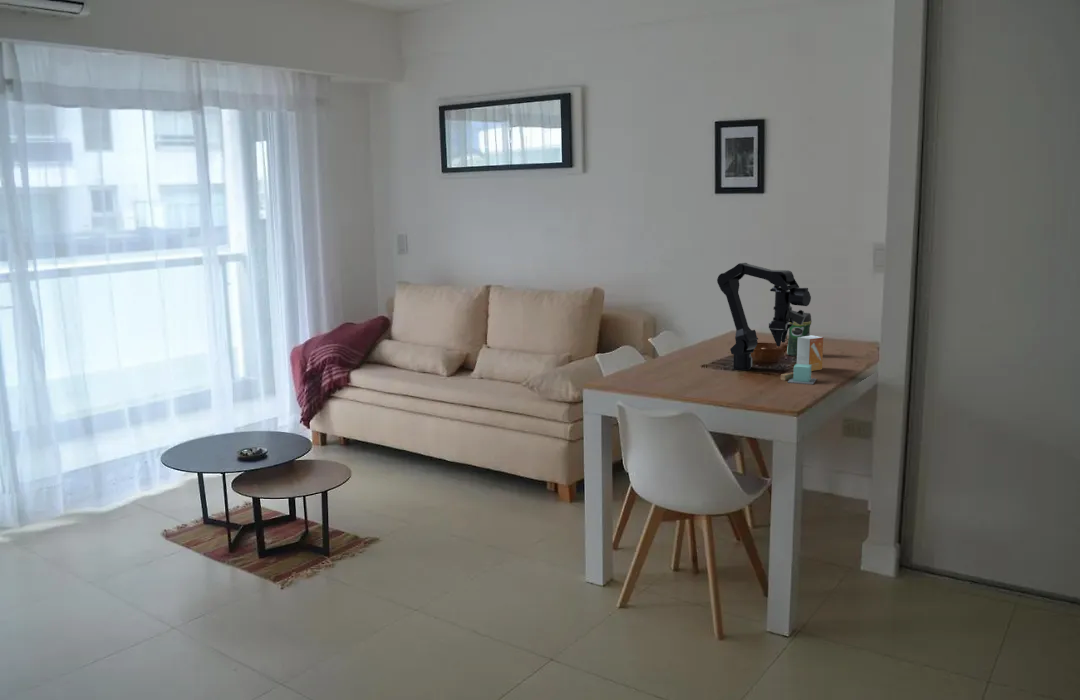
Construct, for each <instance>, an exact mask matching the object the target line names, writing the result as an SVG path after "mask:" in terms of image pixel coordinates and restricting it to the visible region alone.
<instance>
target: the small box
mask: <svg viewBox="0 0 1080 700" xmlns="http://www.w3.org/2000/svg"><path fill="white" fill-rule="evenodd" d="M823 353H824V336H817V335H811V334H810V336H803V337H798V341H797V356H796V364H808V365H811V372H813V371H819V370H820V371H821V370H822V369H823V357H824V356H823Z"/></svg>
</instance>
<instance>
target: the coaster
mask: <svg viewBox="0 0 1080 700" xmlns="http://www.w3.org/2000/svg"><path fill="white" fill-rule="evenodd" d="M815 382H817V378H815V377H814V378H812V377H811V380H810V381H809V382H799V381H793V378H791V379H790V380H787V383H788V384H799V385H801V384H802V385H814V384H815Z"/></svg>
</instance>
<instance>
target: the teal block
mask: <svg viewBox="0 0 1080 700" xmlns="http://www.w3.org/2000/svg"><path fill="white" fill-rule="evenodd" d="M811 378H812V371H811V365H808V364H797V363H795V364H794V366H793V381H799V382H809V381H810V380H811Z"/></svg>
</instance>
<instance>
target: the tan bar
mask: <svg viewBox="0 0 1080 700" xmlns="http://www.w3.org/2000/svg"><path fill="white" fill-rule="evenodd" d="M793 372H794V371H793ZM793 372H792V371H791V372H788V373H782V374H780V380H781V381H785V382H786V381H789V380H790V379H791V378H793Z"/></svg>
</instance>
